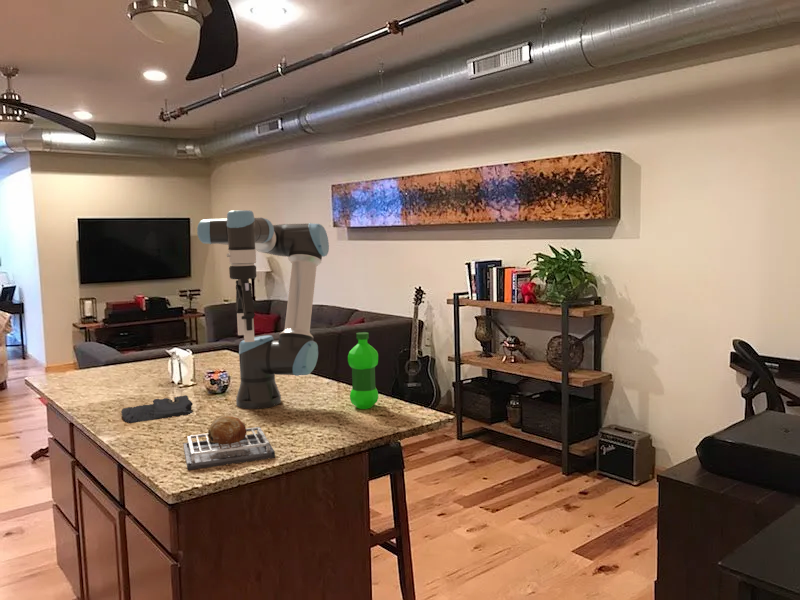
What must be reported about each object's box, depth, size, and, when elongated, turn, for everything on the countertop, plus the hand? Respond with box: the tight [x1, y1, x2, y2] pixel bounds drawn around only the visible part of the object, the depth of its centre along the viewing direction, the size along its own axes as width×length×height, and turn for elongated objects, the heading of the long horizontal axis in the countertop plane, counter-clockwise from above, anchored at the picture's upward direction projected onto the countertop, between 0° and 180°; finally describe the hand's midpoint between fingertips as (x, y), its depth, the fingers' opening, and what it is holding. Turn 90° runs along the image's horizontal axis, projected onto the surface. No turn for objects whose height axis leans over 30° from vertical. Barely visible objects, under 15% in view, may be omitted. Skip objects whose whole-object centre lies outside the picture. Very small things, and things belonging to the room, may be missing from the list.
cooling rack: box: [182, 426, 276, 471], centre depth 180 cm, size 18×22×4 cm
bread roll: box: [207, 415, 248, 445], centre depth 180 cm, size 10×10×8 cm
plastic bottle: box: [347, 331, 379, 410], centre depth 223 cm, size 10×10×25 cm
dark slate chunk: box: [120, 394, 194, 424], centre depth 222 cm, size 15×22×5 cm
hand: (246, 338), depth 193 cm, fingers open, 13 cm apart
